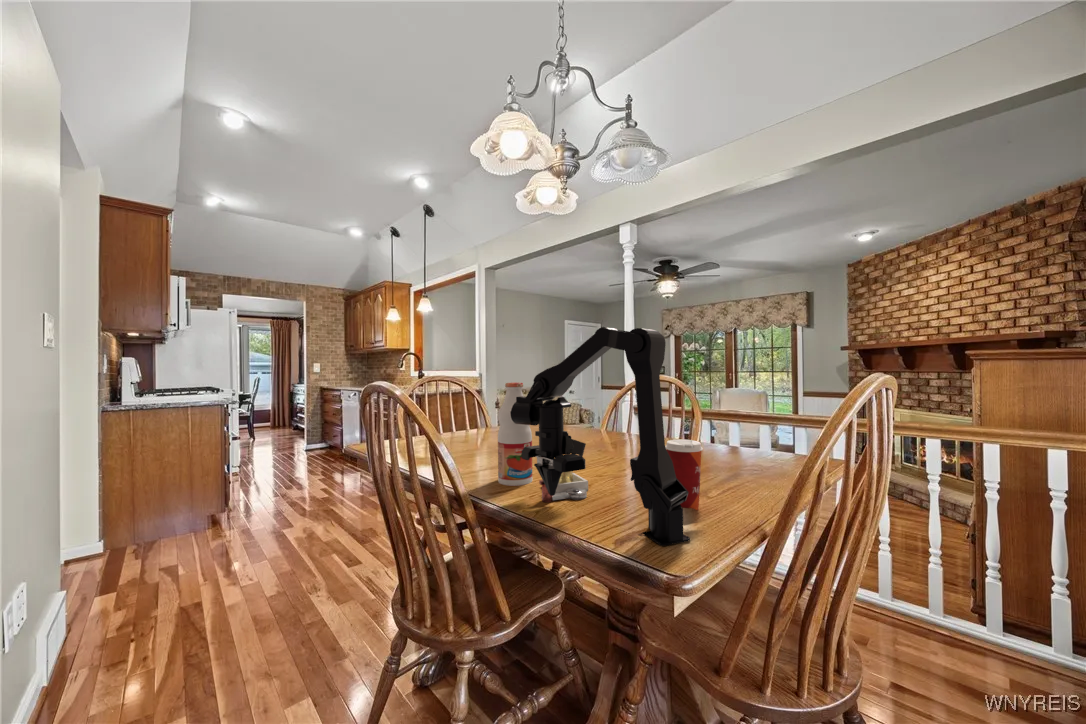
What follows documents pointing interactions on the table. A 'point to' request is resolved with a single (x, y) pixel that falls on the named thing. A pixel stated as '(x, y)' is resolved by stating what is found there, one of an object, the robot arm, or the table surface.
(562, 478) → the pin
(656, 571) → the table surface
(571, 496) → the crank
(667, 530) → the robot arm
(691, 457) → the coffee cup
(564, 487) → the tray
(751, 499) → the table surface
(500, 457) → the fruit juice
